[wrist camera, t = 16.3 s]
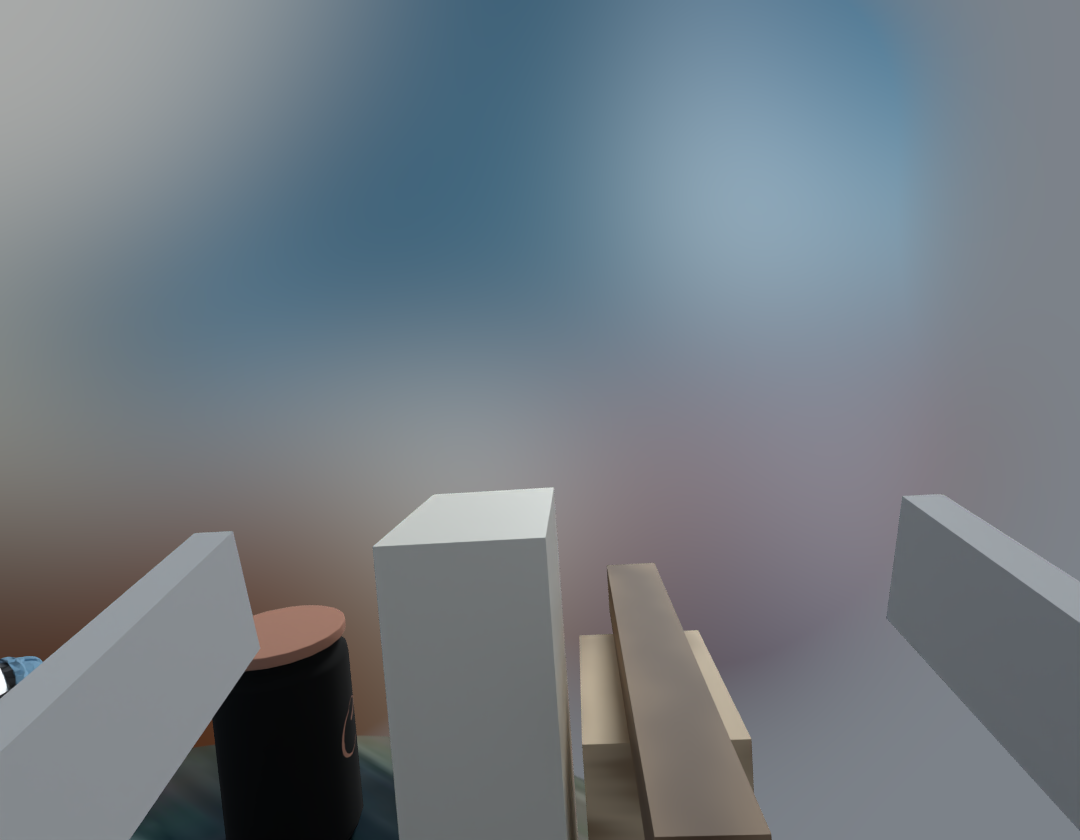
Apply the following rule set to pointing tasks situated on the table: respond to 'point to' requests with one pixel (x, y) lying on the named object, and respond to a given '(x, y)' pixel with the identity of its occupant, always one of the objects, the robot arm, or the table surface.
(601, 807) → the oak block
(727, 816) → the walnut bar
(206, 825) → the table surface
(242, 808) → the coffee jar
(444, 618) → the white block
